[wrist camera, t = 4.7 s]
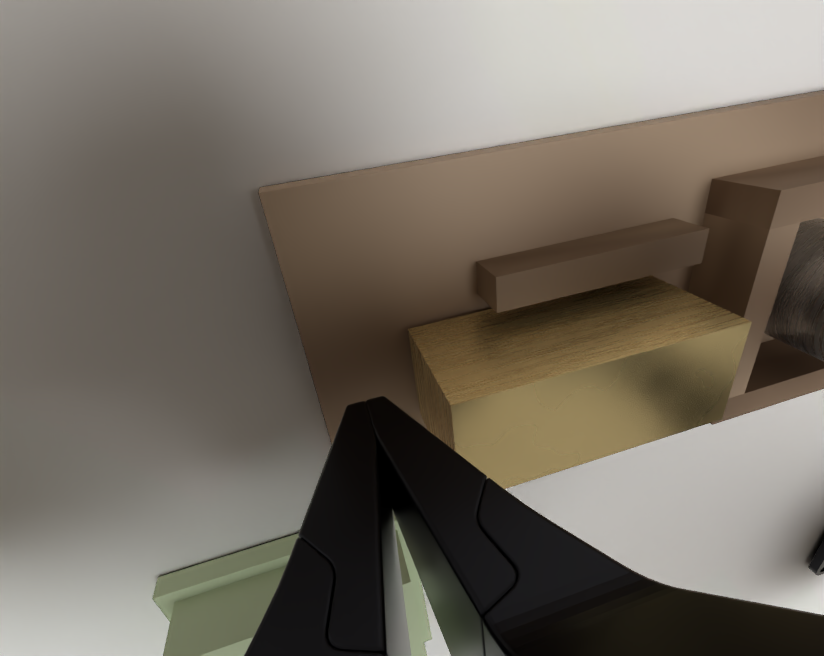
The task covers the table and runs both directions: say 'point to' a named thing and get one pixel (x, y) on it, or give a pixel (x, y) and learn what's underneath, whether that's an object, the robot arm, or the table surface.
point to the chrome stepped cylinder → (802, 293)
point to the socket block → (553, 239)
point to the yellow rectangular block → (575, 376)
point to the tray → (253, 599)
